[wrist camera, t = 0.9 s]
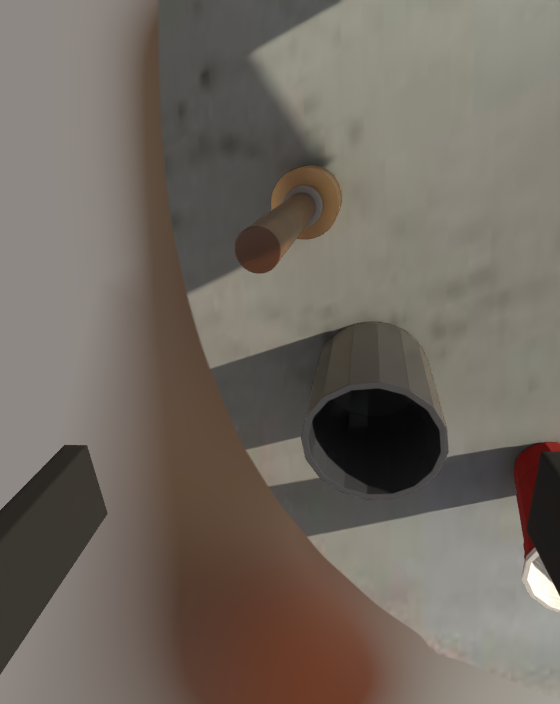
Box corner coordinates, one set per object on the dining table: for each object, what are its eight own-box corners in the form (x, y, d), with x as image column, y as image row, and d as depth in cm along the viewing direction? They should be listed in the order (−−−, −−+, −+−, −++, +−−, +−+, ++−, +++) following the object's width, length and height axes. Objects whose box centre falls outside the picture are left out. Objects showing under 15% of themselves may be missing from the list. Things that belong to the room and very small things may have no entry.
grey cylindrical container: (424, 314, 37) (444, 376, 27) (431, 413, 41) (451, 497, 31) (309, 328, 39) (290, 389, 30) (326, 420, 43) (314, 500, 34)
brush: (336, 158, 33) (304, 175, 17) (345, 225, 35) (325, 298, 19) (273, 172, 34) (186, 200, 18) (286, 235, 36) (217, 313, 20)
